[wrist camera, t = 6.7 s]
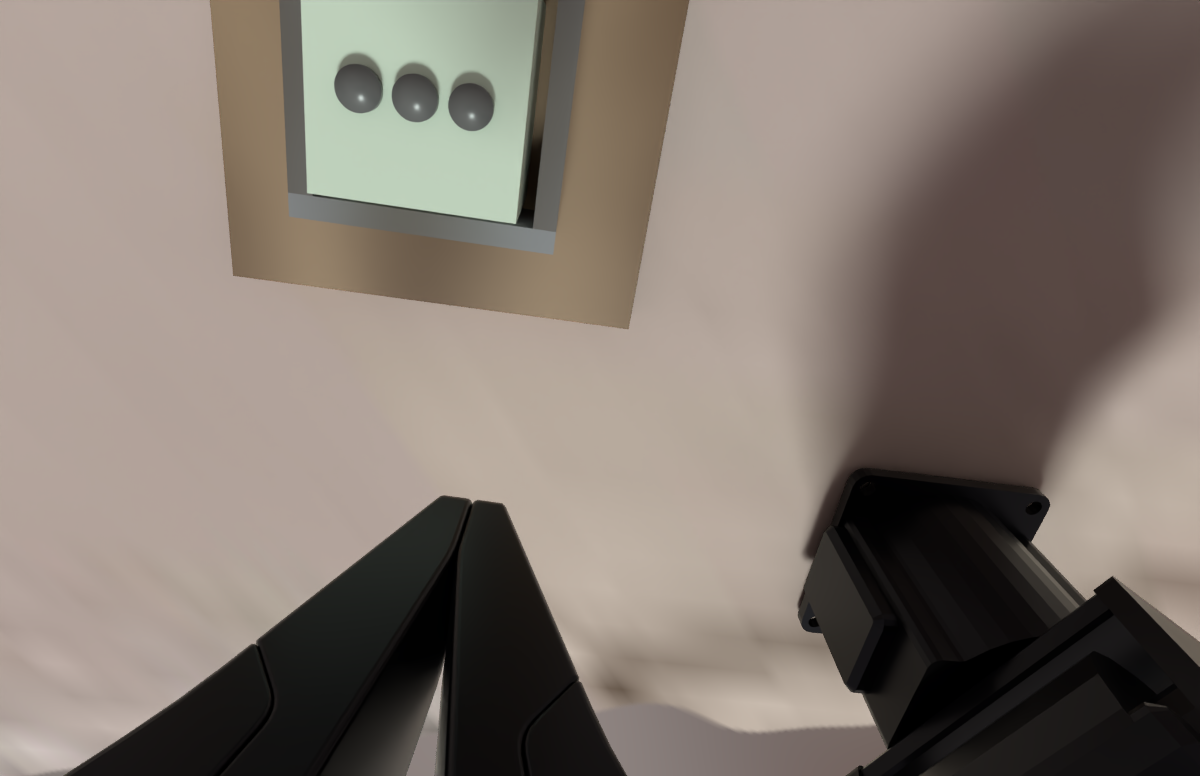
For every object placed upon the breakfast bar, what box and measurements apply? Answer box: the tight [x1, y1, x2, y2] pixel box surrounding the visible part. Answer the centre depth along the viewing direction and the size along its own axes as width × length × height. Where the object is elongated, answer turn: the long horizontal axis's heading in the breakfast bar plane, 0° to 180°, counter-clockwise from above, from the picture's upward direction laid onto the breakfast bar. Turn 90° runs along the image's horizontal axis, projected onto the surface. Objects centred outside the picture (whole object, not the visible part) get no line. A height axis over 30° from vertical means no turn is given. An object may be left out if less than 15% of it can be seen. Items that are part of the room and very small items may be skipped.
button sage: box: [301, 0, 546, 224], centre depth 13 cm, size 4×4×3 cm
